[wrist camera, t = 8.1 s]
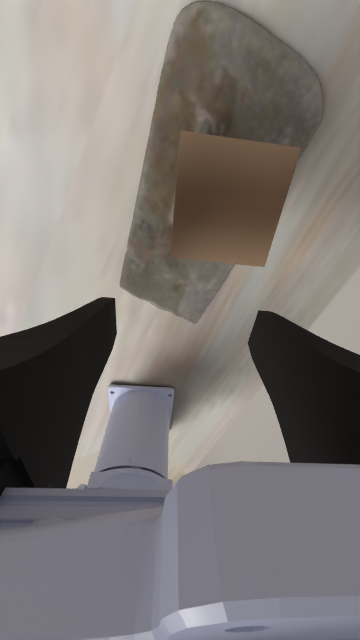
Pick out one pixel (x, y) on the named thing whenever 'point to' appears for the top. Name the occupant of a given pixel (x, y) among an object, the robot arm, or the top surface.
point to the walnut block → (229, 197)
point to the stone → (214, 119)
